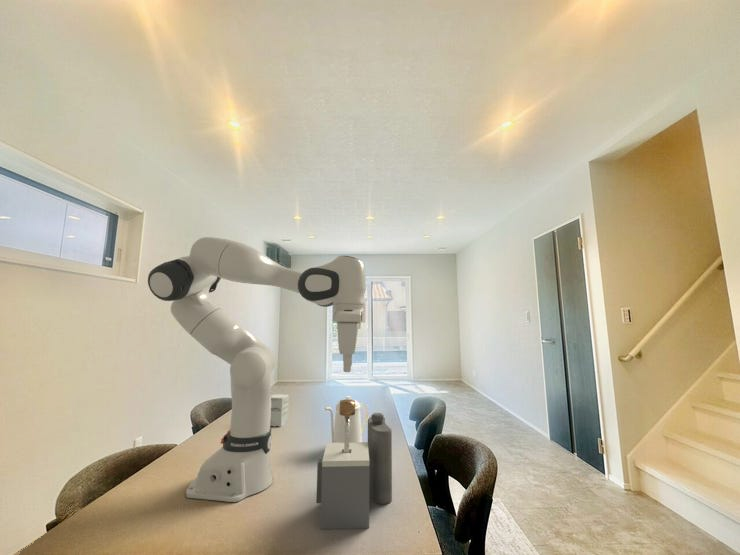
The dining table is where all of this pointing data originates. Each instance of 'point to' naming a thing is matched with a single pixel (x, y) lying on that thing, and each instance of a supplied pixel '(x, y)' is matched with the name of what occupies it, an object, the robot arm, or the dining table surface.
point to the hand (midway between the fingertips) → (347, 369)
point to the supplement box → (279, 409)
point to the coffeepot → (354, 423)
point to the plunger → (347, 419)
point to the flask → (380, 459)
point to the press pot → (344, 486)
